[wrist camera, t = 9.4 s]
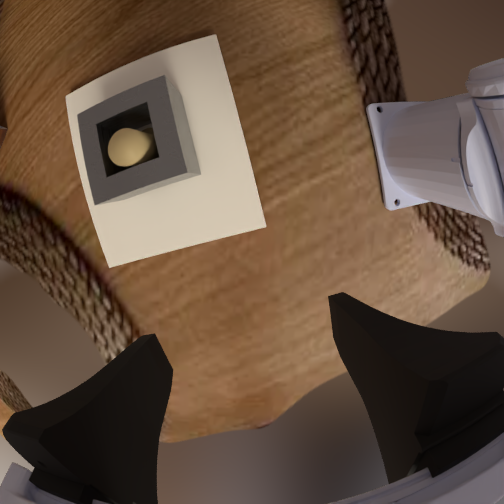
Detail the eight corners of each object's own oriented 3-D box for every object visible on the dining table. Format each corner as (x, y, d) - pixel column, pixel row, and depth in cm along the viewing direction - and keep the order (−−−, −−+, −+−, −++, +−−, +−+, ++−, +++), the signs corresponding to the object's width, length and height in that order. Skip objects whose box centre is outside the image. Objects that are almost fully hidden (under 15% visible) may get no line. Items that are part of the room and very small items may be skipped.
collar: (181, 95, 16) (164, 74, 12) (201, 174, 17) (187, 172, 13) (107, 124, 16) (76, 114, 12) (124, 199, 17) (94, 205, 13)
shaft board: (217, 39, 15) (208, 2, 10) (265, 223, 19) (273, 246, 14) (72, 98, 16) (29, 87, 11) (114, 263, 20) (80, 293, 15)
